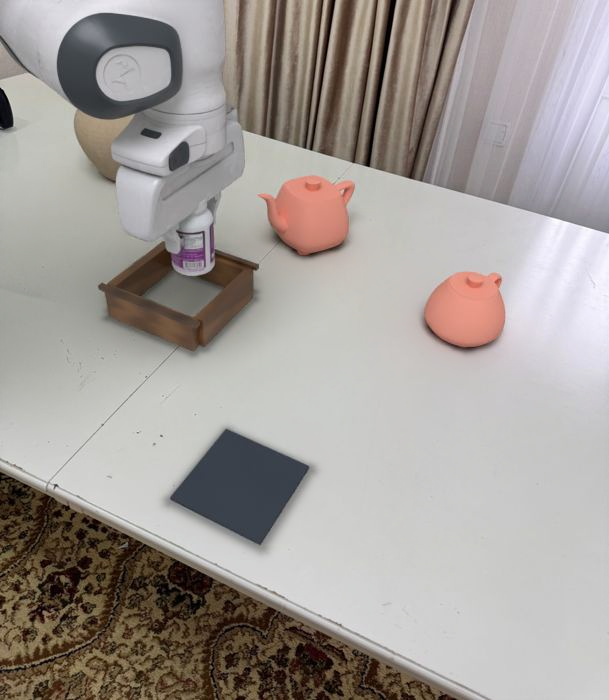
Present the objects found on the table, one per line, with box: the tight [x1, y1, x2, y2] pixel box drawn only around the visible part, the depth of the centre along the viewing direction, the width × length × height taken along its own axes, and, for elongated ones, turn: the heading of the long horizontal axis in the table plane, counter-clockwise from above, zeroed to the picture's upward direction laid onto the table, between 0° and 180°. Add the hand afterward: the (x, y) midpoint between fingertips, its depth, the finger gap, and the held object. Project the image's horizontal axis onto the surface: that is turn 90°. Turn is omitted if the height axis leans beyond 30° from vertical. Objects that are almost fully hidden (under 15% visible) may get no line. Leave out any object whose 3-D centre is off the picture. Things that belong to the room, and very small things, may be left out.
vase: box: [73, 108, 135, 182], centre depth 119 cm, size 17×17×30 cm
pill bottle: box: [171, 199, 215, 277], centre depth 75 cm, size 5×5×10 cm
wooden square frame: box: [97, 240, 260, 352], centre depth 97 cm, size 17×18×6 cm
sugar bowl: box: [423, 270, 506, 349], centre depth 95 cm, size 12×14×10 cm
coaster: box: [169, 428, 310, 546], centre depth 74 cm, size 12×12×1 cm
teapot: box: [257, 174, 356, 256], centre depth 111 cm, size 13×20×12 cm, turn 122°
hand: (191, 237), depth 76 cm, fingers closed on pill bottle, 5 cm apart
